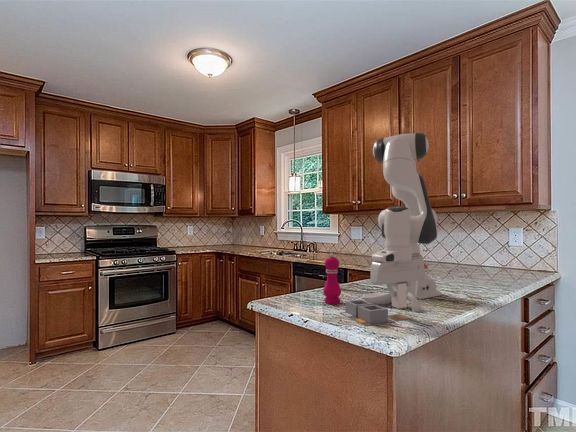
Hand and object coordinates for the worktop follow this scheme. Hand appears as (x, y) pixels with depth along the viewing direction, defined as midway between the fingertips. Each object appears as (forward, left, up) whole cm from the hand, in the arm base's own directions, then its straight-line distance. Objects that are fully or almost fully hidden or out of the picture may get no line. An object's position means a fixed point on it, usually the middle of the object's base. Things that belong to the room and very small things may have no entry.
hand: (398, 295), depth 118 cm
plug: (0, 0, -4) cm, 4 cm away
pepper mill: (+9, -31, -8) cm, 33 cm away
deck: (+1, 0, -8) cm, 8 cm away
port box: (+11, -4, -8) cm, 14 cm away
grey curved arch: (-8, -15, -9) cm, 20 cm away
